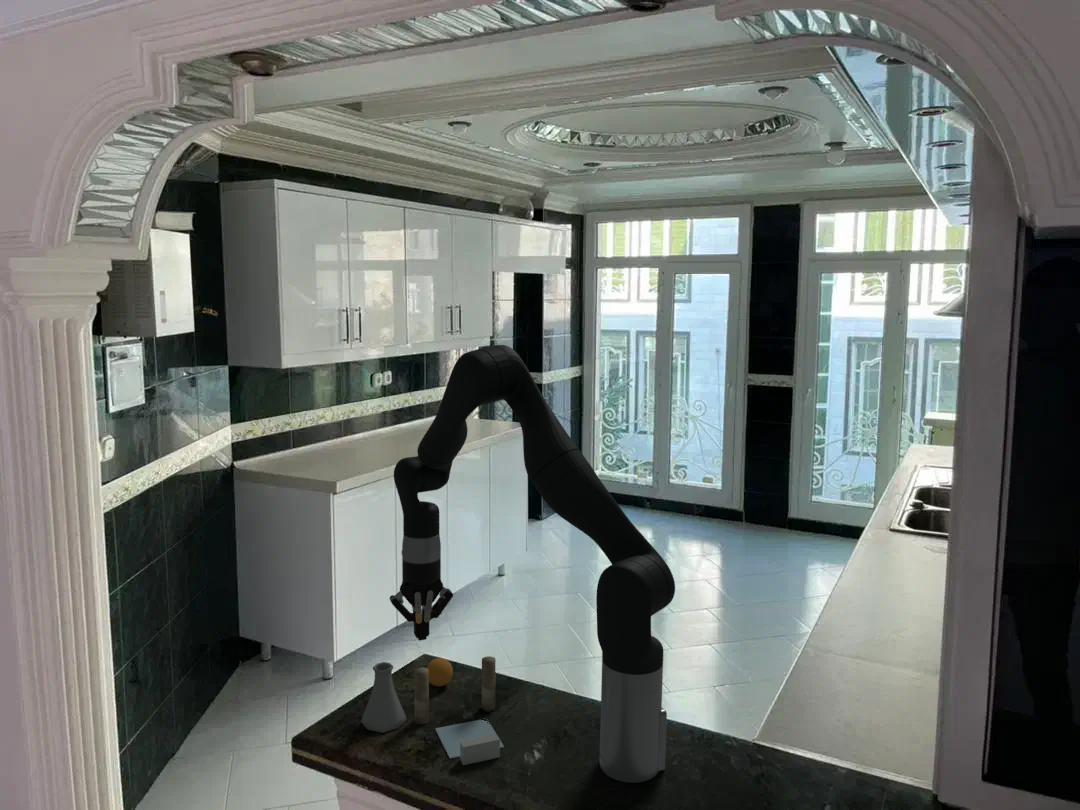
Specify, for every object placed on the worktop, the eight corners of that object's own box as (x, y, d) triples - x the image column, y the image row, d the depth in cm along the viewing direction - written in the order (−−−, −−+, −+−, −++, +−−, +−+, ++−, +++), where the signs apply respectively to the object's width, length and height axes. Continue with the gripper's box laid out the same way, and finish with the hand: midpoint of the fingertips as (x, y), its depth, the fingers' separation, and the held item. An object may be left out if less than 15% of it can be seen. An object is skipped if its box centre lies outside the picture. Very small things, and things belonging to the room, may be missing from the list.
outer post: (427, 715, 136) (426, 666, 135) (430, 722, 134) (430, 672, 133) (413, 718, 135) (412, 668, 134) (416, 725, 133) (415, 675, 132)
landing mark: (486, 719, 135) (486, 718, 135) (504, 747, 127) (504, 746, 127) (435, 729, 132) (435, 728, 132) (449, 759, 124) (449, 757, 124)
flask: (382, 738, 129) (381, 681, 128) (353, 723, 134) (351, 667, 132) (414, 720, 135) (413, 664, 134) (385, 706, 139) (384, 652, 138)
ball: (448, 676, 150) (448, 651, 150) (456, 688, 146) (456, 663, 145) (423, 681, 148) (422, 655, 148) (429, 693, 144) (429, 667, 143)
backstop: (496, 751, 126) (496, 734, 125) (499, 757, 124) (499, 739, 124) (460, 759, 124) (460, 741, 123) (463, 765, 122) (463, 747, 122)
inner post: (492, 703, 141) (492, 655, 139) (497, 710, 138) (497, 661, 137) (479, 705, 140) (479, 657, 139) (484, 712, 138) (484, 663, 136)
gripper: (391, 565, 150) (392, 651, 153) (459, 557, 155) (458, 641, 158) (384, 553, 157) (385, 635, 160) (449, 546, 162) (448, 626, 164)
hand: (421, 638), depth 159 cm, fingers closed
